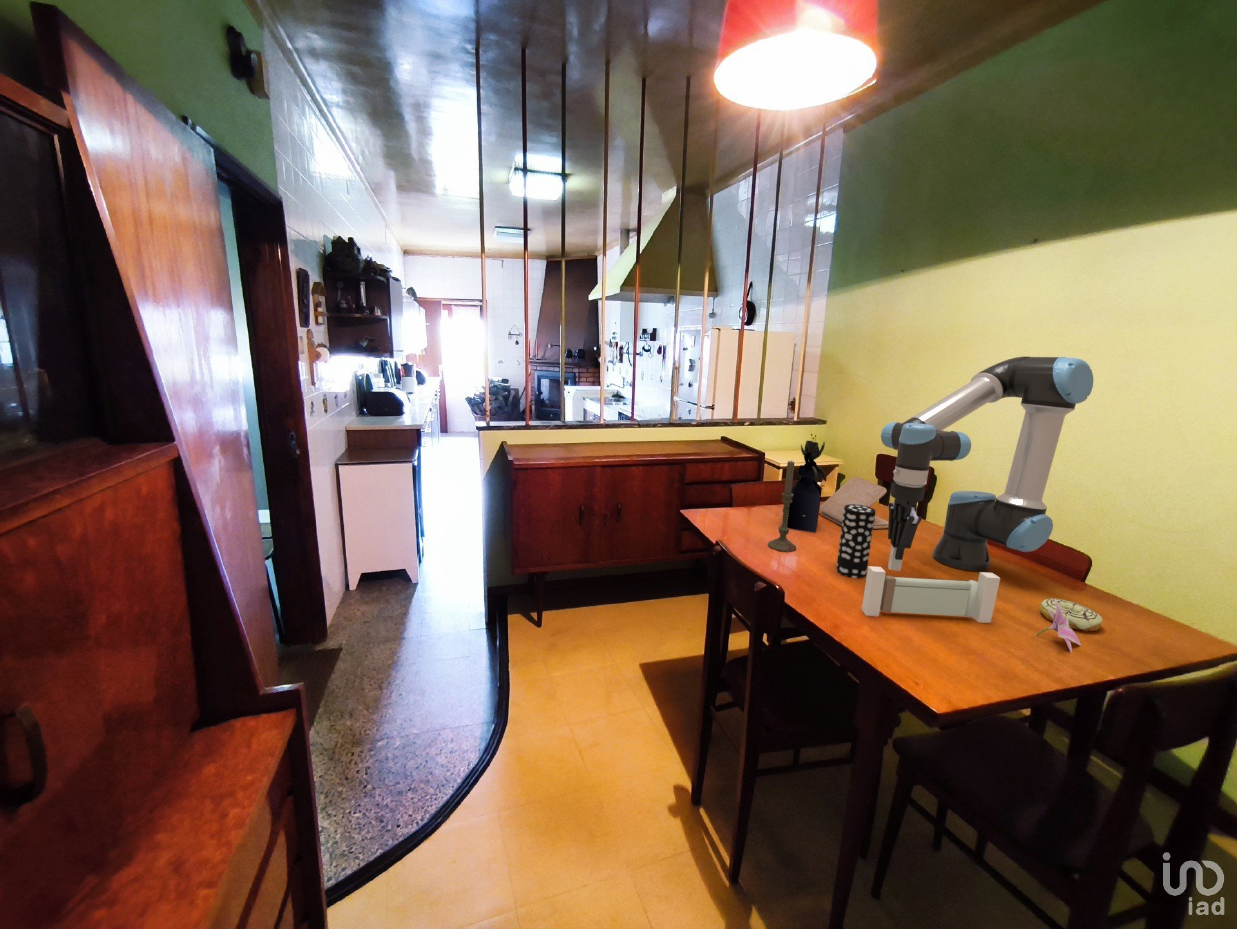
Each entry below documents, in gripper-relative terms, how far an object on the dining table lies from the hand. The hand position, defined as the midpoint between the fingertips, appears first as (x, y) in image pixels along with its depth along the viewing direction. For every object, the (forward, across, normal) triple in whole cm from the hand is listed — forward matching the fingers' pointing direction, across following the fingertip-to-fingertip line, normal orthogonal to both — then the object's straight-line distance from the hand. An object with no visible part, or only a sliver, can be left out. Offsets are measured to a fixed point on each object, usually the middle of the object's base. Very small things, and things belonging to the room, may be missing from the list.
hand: (894, 569), depth 137 cm
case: (+8, -65, +15) cm, 67 cm away
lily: (+8, +19, +30) cm, 36 cm away
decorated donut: (+8, +8, +40) cm, 42 cm away
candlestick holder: (+8, -33, -21) cm, 40 cm away
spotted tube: (+8, -15, -5) cm, 18 cm away
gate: (+7, +10, +4) cm, 13 cm away
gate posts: (+8, +10, +4) cm, 13 cm away
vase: (+8, -55, -8) cm, 56 cm away
